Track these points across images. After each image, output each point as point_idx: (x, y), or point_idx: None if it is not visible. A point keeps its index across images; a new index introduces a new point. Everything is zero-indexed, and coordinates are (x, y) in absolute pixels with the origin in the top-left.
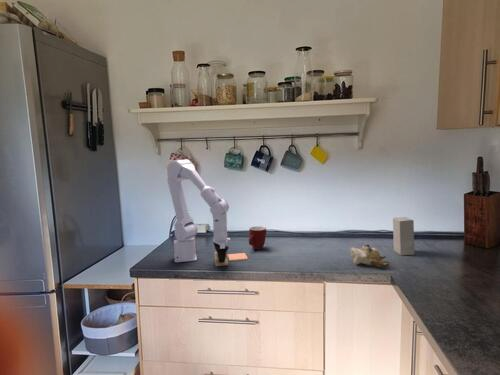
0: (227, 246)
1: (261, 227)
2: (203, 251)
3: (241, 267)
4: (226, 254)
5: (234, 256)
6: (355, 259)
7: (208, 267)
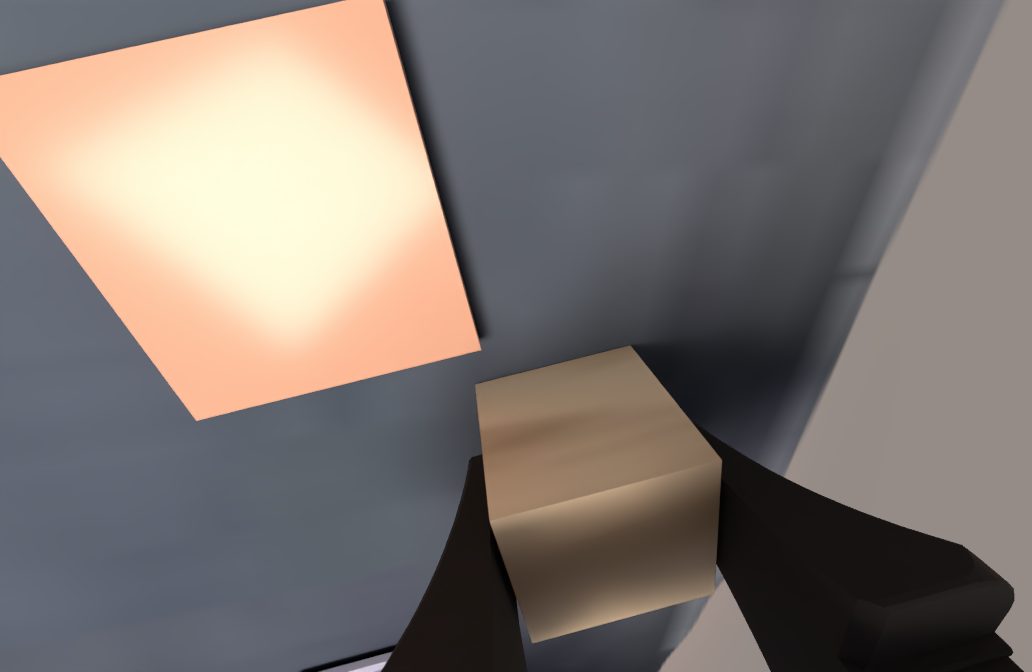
0: (923, 614)
1: None
2: (116, 663)
3: (778, 139)
4: (708, 462)
5: (293, 299)
6: None
7: None
